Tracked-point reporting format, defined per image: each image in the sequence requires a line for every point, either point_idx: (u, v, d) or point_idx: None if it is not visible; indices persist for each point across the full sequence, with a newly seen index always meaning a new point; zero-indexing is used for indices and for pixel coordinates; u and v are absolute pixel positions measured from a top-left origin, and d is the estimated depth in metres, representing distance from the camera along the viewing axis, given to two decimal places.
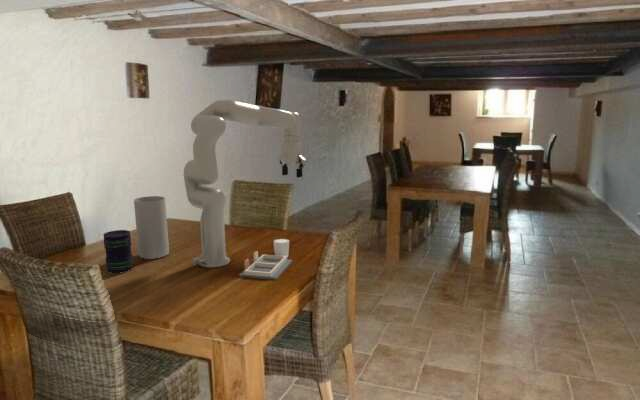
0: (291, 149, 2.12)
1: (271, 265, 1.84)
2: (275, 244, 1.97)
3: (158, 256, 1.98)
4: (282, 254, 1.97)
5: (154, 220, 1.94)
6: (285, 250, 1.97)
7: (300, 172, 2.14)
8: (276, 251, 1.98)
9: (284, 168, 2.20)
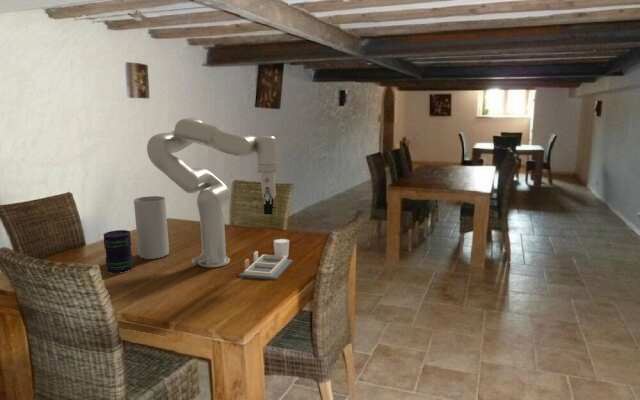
0: None
1: (271, 265, 1.84)
2: (275, 244, 1.97)
3: (158, 256, 1.98)
4: (282, 254, 1.97)
5: (154, 220, 1.94)
6: (285, 250, 1.97)
7: None
8: (276, 251, 1.98)
9: None
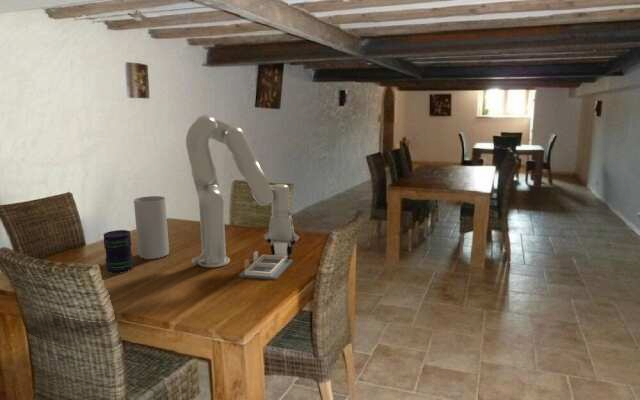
0: None
1: (271, 265, 1.84)
2: (275, 244, 1.97)
3: (158, 256, 1.98)
4: (282, 254, 1.97)
5: (154, 220, 1.94)
6: (285, 250, 1.97)
7: None
8: (276, 251, 1.98)
9: None
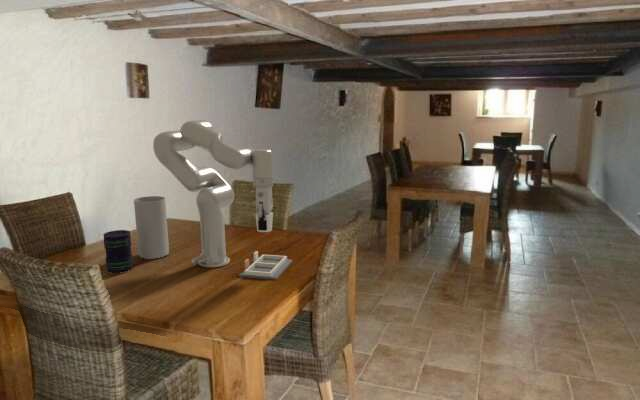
0: (271, 192, 1.80)
1: (271, 265, 1.84)
2: None
3: (158, 256, 1.98)
4: (257, 226, 1.79)
5: (154, 220, 1.94)
6: None
7: None
8: None
9: None
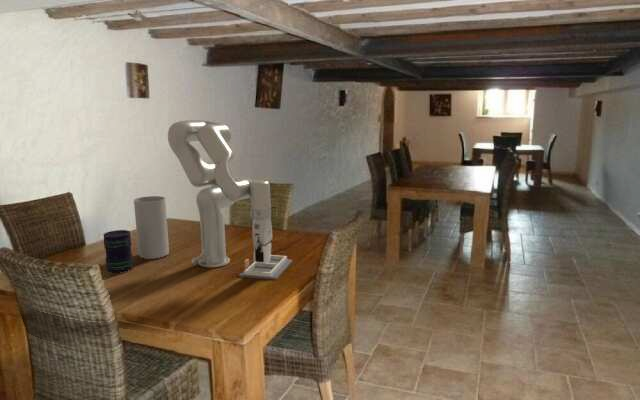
0: (270, 223, 1.79)
1: (271, 265, 1.84)
2: None
3: (158, 256, 1.98)
4: None
5: (154, 220, 1.94)
6: None
7: None
8: None
9: None
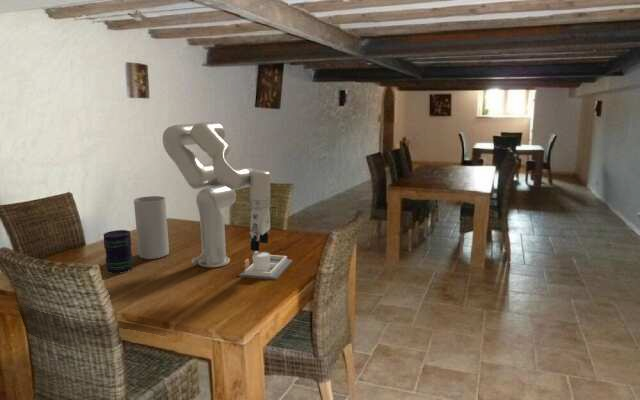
0: (268, 213, 1.78)
1: (271, 265, 1.84)
2: None
3: (158, 256, 1.98)
4: (254, 267, 1.79)
5: (154, 220, 1.94)
6: (254, 264, 1.77)
7: None
8: None
9: None
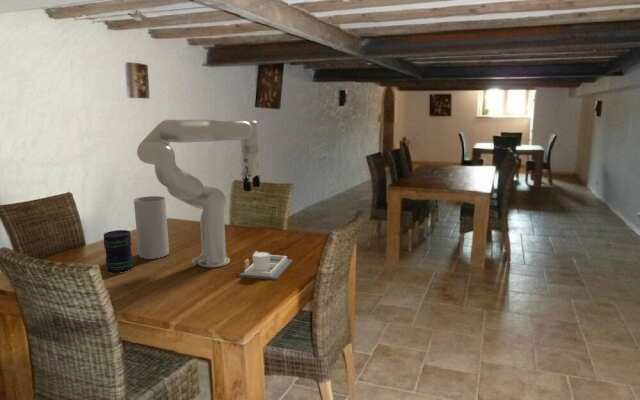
0: (258, 159, 2.02)
1: (271, 265, 1.84)
2: None
3: (158, 256, 1.98)
4: (254, 267, 1.79)
5: (154, 220, 1.94)
6: (254, 264, 1.77)
7: None
8: None
9: None
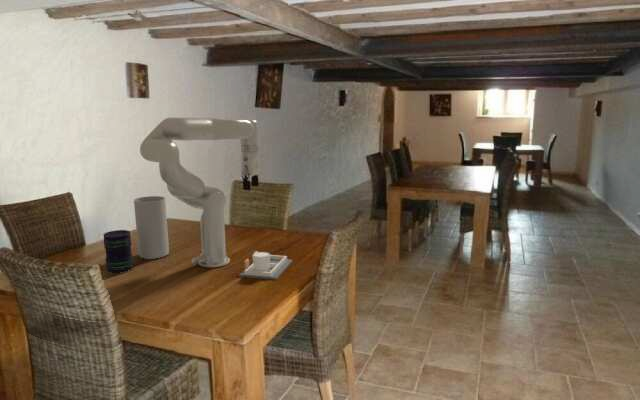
0: (258, 158, 2.04)
1: (271, 265, 1.84)
2: None
3: (158, 256, 1.98)
4: (254, 267, 1.79)
5: (154, 220, 1.94)
6: (254, 264, 1.77)
7: None
8: None
9: None
